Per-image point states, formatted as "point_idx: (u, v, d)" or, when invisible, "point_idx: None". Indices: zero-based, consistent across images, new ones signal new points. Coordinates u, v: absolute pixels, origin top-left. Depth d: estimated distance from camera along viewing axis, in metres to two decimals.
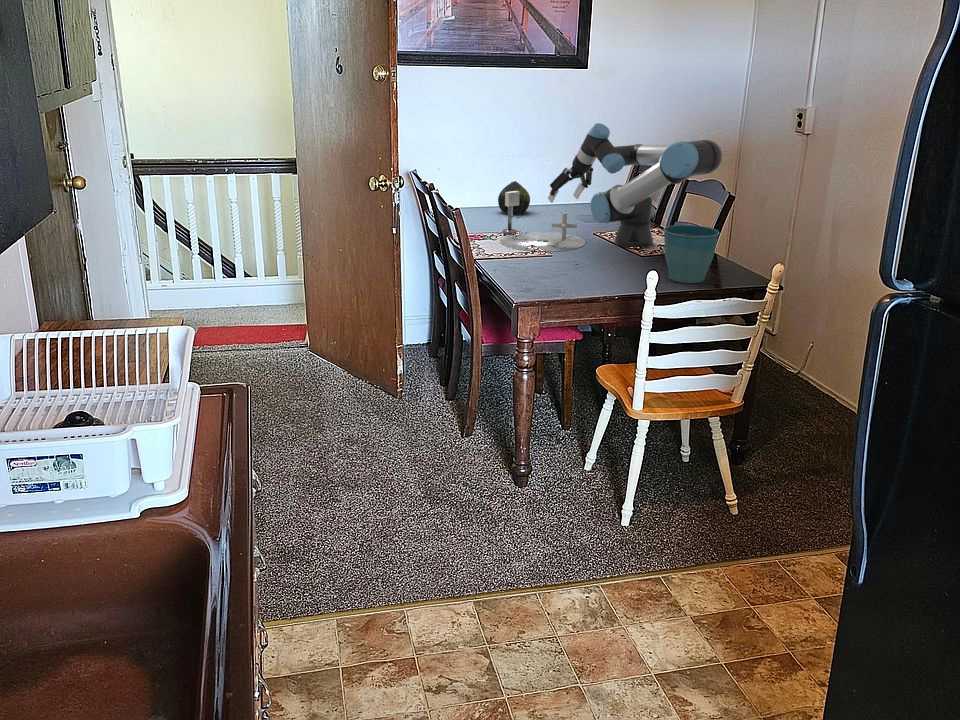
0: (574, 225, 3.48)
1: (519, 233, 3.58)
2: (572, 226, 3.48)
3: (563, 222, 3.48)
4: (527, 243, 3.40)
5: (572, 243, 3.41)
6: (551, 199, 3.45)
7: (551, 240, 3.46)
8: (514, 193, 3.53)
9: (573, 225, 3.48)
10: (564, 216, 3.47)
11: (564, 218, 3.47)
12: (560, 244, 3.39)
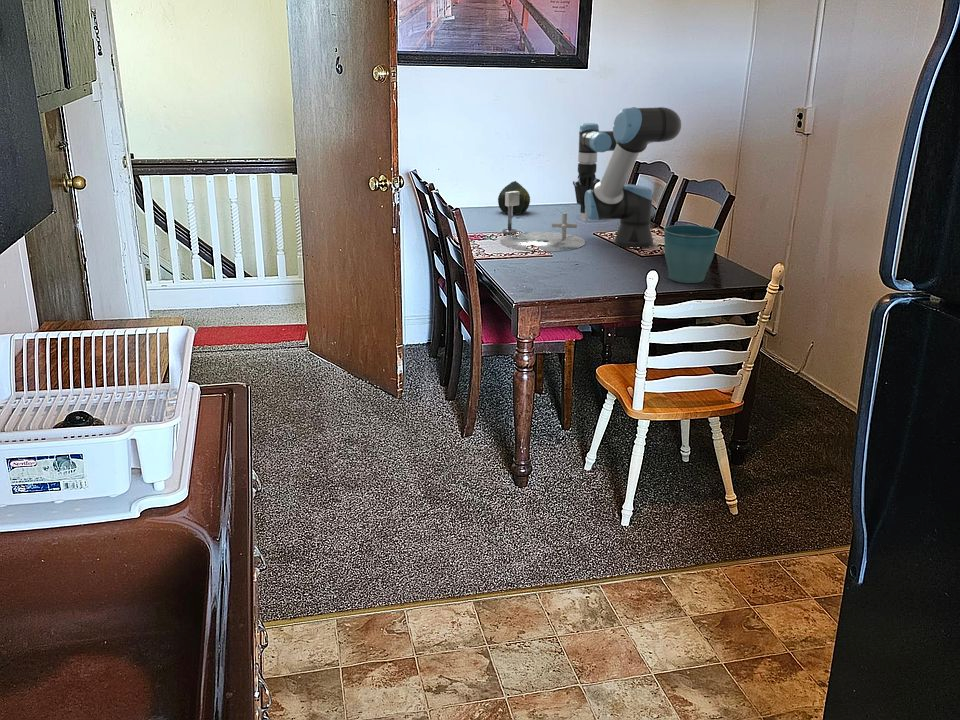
0: (574, 225, 3.48)
1: (519, 233, 3.58)
2: (572, 226, 3.48)
3: (563, 222, 3.48)
4: (527, 243, 3.40)
5: (572, 243, 3.41)
6: (584, 218, 3.53)
7: (551, 240, 3.46)
8: (514, 193, 3.53)
9: (573, 225, 3.48)
10: (564, 216, 3.47)
11: (564, 218, 3.47)
12: (560, 244, 3.39)
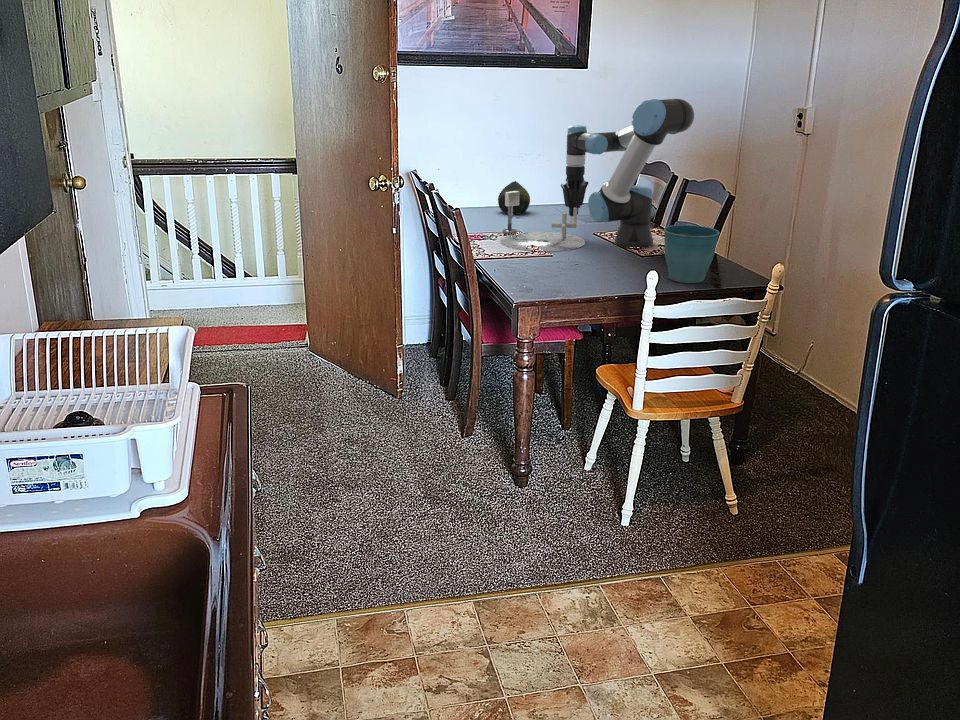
0: (574, 225, 3.48)
1: (519, 233, 3.58)
2: (572, 226, 3.48)
3: (563, 222, 3.48)
4: (527, 243, 3.40)
5: (572, 243, 3.41)
6: (573, 220, 3.50)
7: (551, 240, 3.46)
8: (514, 193, 3.53)
9: (573, 225, 3.48)
10: (564, 216, 3.47)
11: (564, 218, 3.47)
12: (560, 244, 3.39)
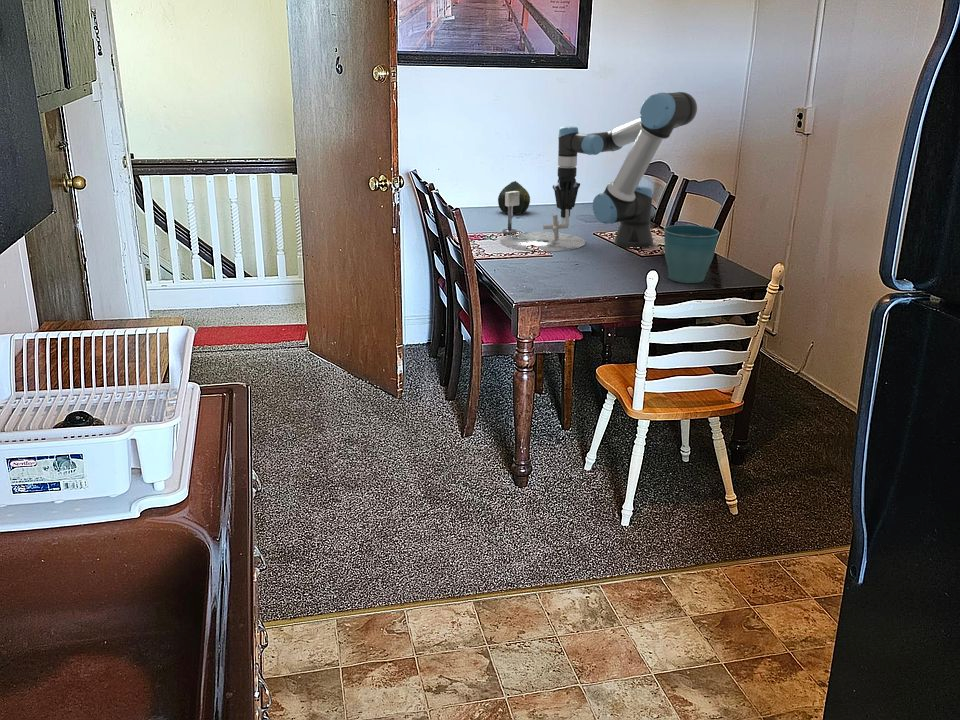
0: (565, 226, 3.45)
1: (519, 233, 3.58)
2: (563, 227, 3.45)
3: (554, 224, 3.45)
4: (527, 243, 3.40)
5: (572, 243, 3.41)
6: (565, 222, 3.48)
7: (551, 240, 3.46)
8: (514, 193, 3.53)
9: (564, 226, 3.45)
10: (554, 218, 3.44)
11: (555, 220, 3.44)
12: (560, 244, 3.39)
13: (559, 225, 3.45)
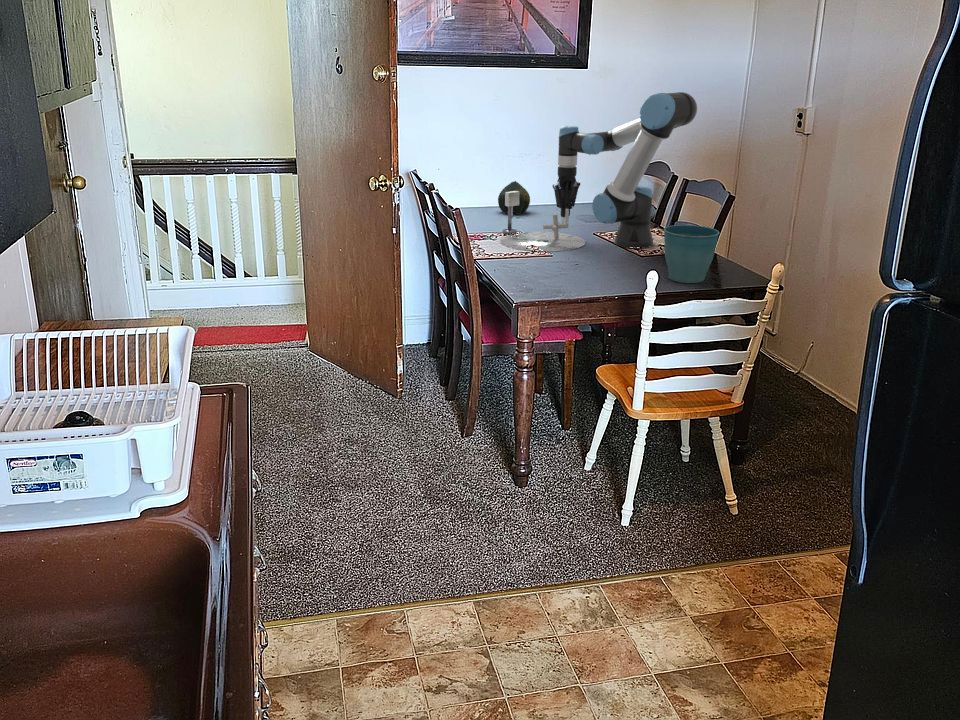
0: (565, 225, 3.45)
1: (519, 233, 3.58)
2: (563, 227, 3.45)
3: (554, 223, 3.46)
4: (527, 243, 3.40)
5: (572, 243, 3.41)
6: (564, 222, 3.48)
7: (551, 240, 3.46)
8: (514, 193, 3.53)
9: (564, 225, 3.45)
10: (554, 217, 3.44)
11: (555, 219, 3.45)
12: (560, 244, 3.39)
13: (559, 225, 3.46)
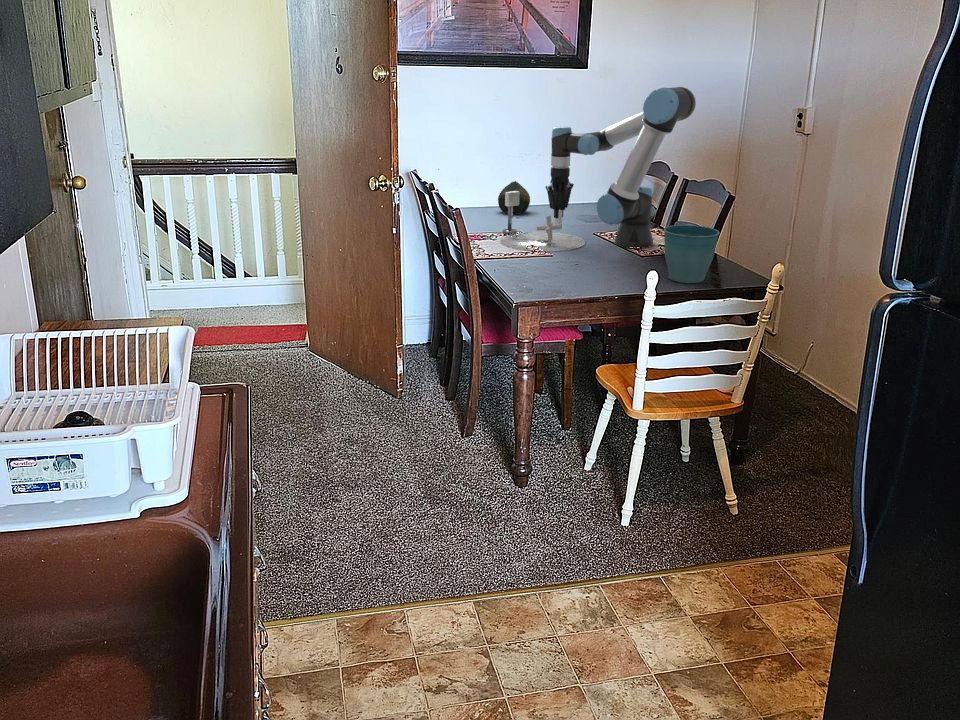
0: (559, 226, 3.43)
1: (519, 233, 3.58)
2: (557, 228, 3.43)
3: (548, 224, 3.43)
4: (527, 243, 3.40)
5: (572, 243, 3.41)
6: (558, 223, 3.46)
7: (551, 240, 3.46)
8: (514, 193, 3.53)
9: (558, 227, 3.43)
10: (548, 219, 3.42)
11: (548, 220, 3.42)
12: (560, 244, 3.39)
13: (553, 226, 3.44)
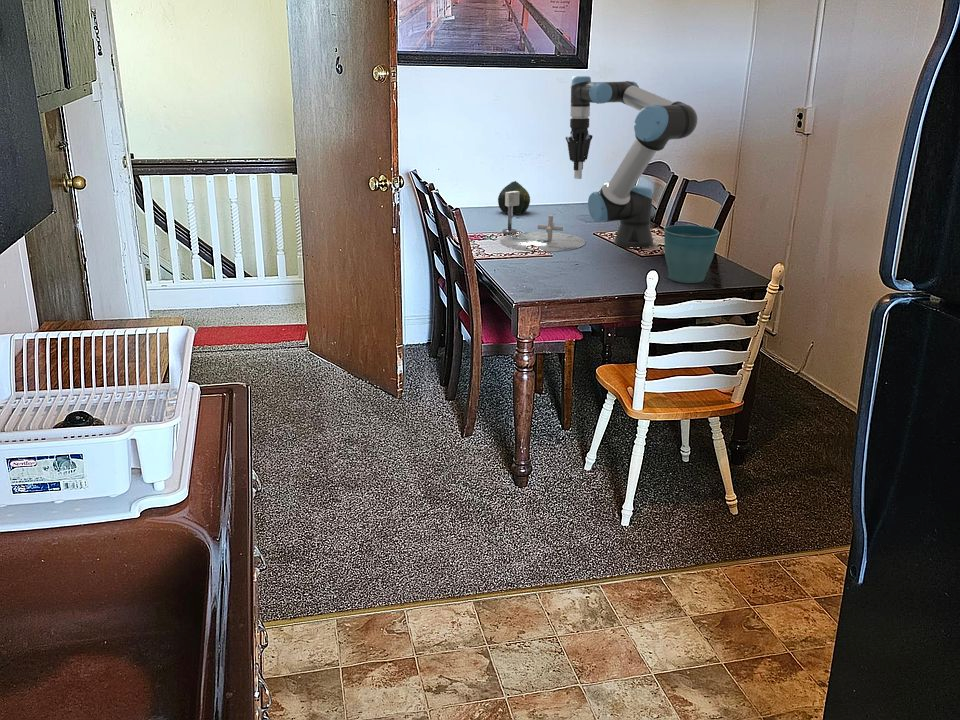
0: (560, 228, 3.43)
1: (519, 233, 3.58)
2: (558, 229, 3.43)
3: (549, 224, 3.43)
4: (527, 243, 3.40)
5: (572, 243, 3.41)
6: (578, 175, 3.42)
7: (551, 240, 3.46)
8: (514, 193, 3.53)
9: (559, 228, 3.43)
10: (550, 218, 3.42)
11: (550, 220, 3.42)
12: (560, 244, 3.39)
13: (554, 227, 3.43)
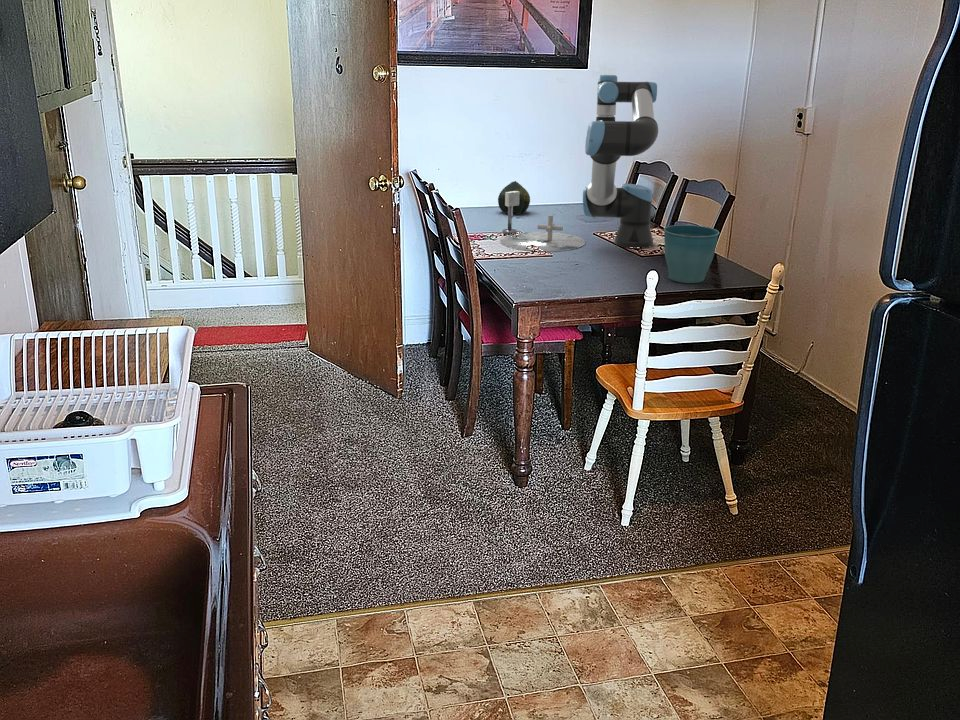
0: (560, 228, 3.43)
1: (519, 233, 3.58)
2: (558, 228, 3.43)
3: (549, 224, 3.44)
4: (527, 243, 3.40)
5: (572, 243, 3.41)
6: None
7: (551, 240, 3.46)
8: (514, 193, 3.53)
9: (559, 227, 3.43)
10: (550, 218, 3.43)
11: (550, 220, 3.43)
12: (560, 244, 3.39)
13: (553, 226, 3.44)
